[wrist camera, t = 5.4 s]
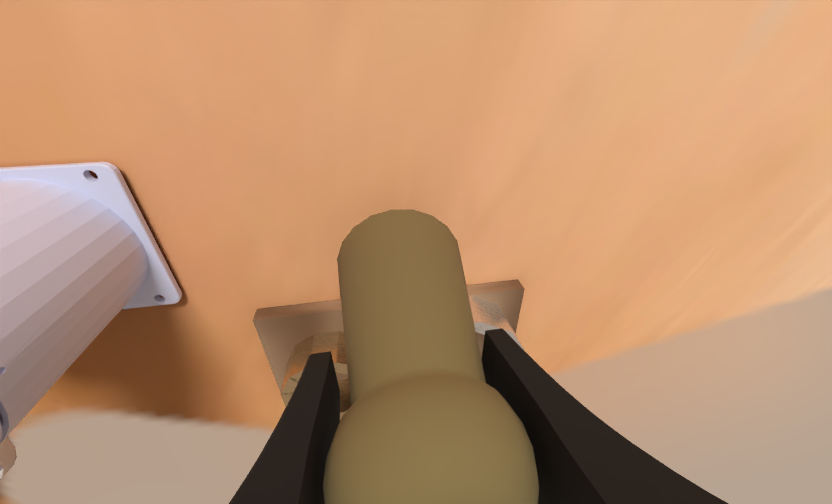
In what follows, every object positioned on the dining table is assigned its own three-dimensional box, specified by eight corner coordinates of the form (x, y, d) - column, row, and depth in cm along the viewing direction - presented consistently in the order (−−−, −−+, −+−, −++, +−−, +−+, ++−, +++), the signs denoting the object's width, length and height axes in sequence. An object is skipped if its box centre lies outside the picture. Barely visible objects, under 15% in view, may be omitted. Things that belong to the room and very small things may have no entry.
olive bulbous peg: (462, 302, 18) (563, 577, 9) (351, 320, 18) (332, 625, 8) (458, 200, 15) (616, 463, 5) (323, 219, 14) (238, 536, 5)
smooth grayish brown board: (289, 397, 25) (287, 410, 24) (257, 309, 20) (252, 320, 19) (502, 366, 27) (506, 377, 26) (518, 279, 22) (524, 288, 21)
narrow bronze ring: (299, 393, 23) (293, 427, 21) (280, 338, 20) (271, 371, 18) (377, 382, 24) (379, 413, 22) (370, 326, 21) (372, 357, 19)
